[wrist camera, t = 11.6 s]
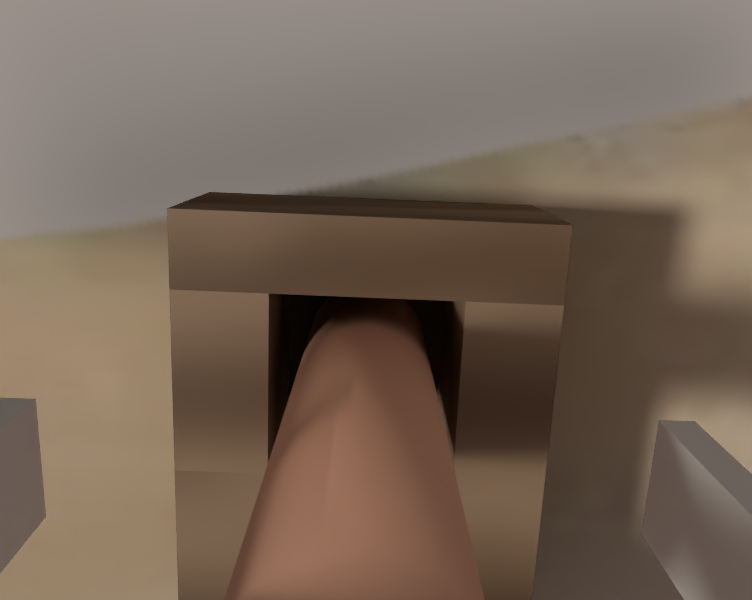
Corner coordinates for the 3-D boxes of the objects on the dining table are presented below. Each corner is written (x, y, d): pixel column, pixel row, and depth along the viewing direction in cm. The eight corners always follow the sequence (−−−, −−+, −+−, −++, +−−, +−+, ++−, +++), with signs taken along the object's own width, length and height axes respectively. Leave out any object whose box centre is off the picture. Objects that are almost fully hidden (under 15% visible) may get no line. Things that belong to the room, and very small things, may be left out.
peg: (311, 282, 24) (201, 549, 9) (425, 287, 25) (512, 561, 9) (309, 389, 25) (206, 799, 10) (419, 393, 25) (488, 809, 10)
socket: (209, 192, 24) (167, 208, 19) (532, 205, 24) (572, 225, 19) (215, 601, 28) (181, 702, 23) (493, 611, 28) (519, 713, 23)
